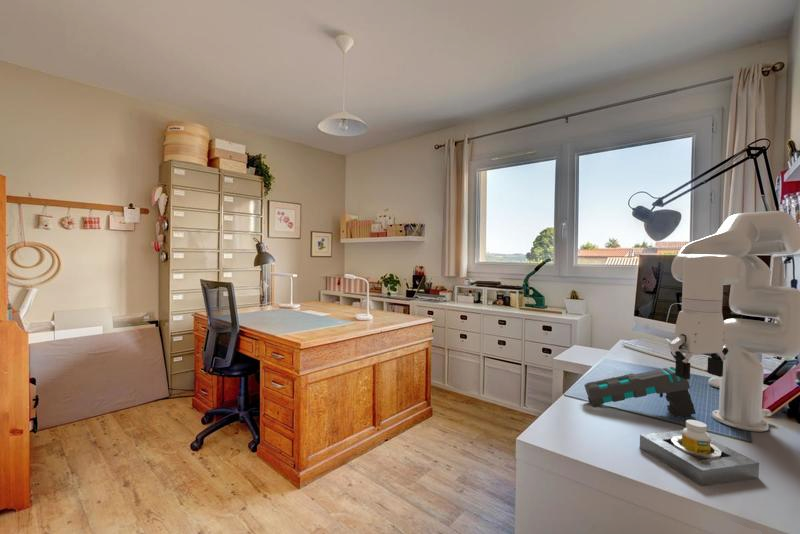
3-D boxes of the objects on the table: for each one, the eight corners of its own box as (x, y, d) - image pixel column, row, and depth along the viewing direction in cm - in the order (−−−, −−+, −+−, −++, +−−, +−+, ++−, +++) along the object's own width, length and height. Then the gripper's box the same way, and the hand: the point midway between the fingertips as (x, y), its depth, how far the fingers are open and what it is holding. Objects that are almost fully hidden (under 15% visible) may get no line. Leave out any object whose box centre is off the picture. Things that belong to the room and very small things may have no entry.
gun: (700, 414, 112) (684, 367, 113) (600, 431, 119) (586, 387, 120) (689, 405, 119) (674, 361, 120) (594, 423, 126) (581, 381, 126)
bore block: (689, 442, 98) (690, 427, 98) (758, 477, 83) (759, 460, 82) (639, 447, 95) (640, 432, 95) (701, 485, 79) (702, 468, 79)
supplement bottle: (692, 454, 92) (694, 417, 92) (715, 466, 87) (716, 427, 87) (675, 456, 91) (677, 419, 91) (697, 469, 86) (699, 429, 85)
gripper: (713, 303, 93) (711, 369, 94) (657, 305, 89) (655, 373, 90) (747, 307, 86) (744, 379, 86) (687, 309, 82) (684, 384, 83)
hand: (698, 376), depth 88 cm, fingers open, 9 cm apart
